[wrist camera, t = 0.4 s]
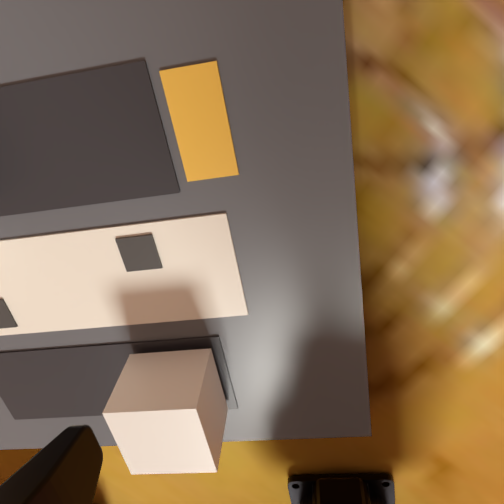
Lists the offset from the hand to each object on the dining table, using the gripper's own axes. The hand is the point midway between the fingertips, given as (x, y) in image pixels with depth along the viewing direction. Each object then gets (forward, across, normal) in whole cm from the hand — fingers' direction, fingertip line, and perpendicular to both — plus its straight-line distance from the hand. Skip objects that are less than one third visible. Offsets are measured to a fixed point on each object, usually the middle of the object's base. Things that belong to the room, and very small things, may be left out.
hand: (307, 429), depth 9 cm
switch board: (+12, +12, +2) cm, 17 cm away
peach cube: (+10, +7, +8) cm, 14 cm away
